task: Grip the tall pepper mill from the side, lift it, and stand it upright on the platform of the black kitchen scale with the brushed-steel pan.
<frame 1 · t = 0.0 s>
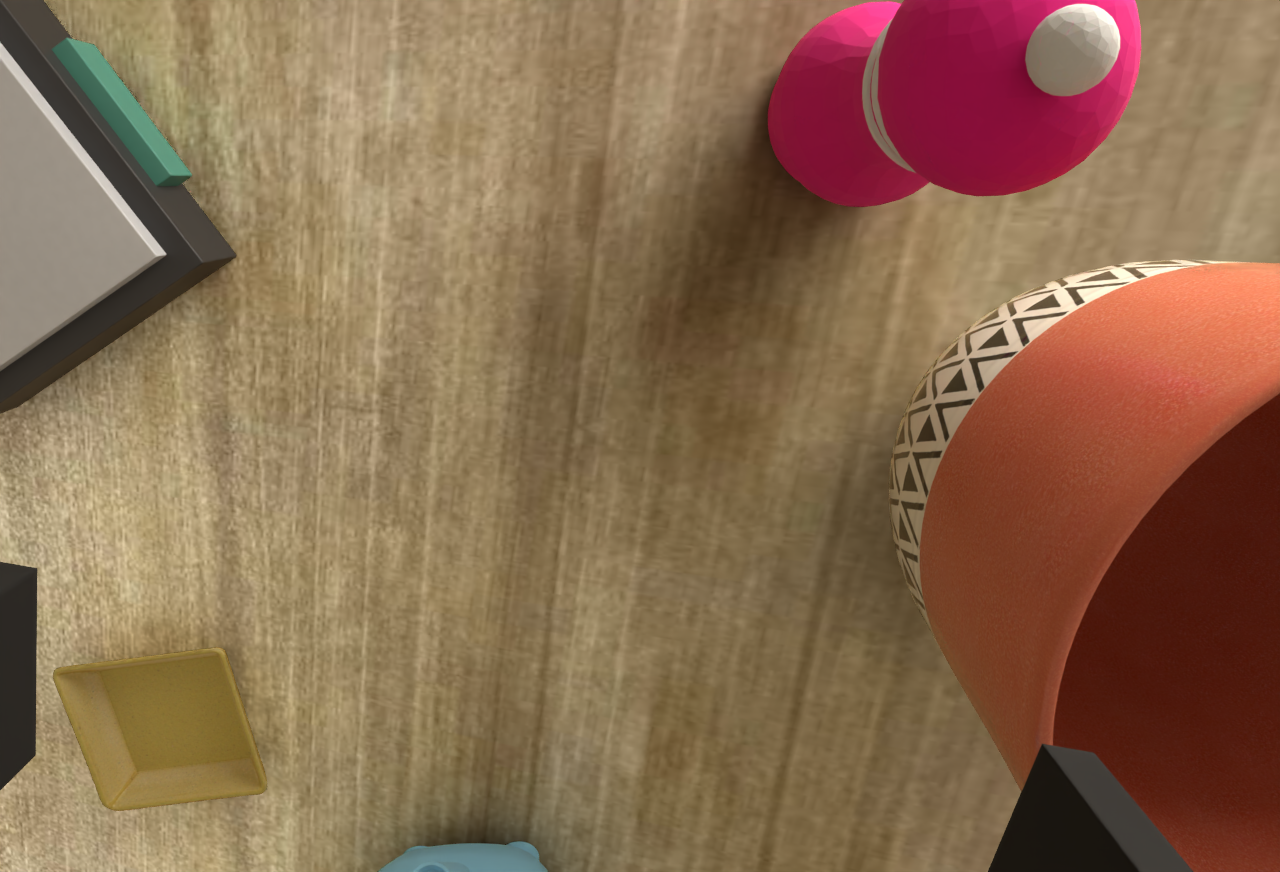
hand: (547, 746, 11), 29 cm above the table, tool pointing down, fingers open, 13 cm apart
pepper mill: (837, 117, 36), on the table
planter: (1022, 432, 40), on the table
saucer: (184, 706, 44), on the table
scale: (21, 207, 36), on the table
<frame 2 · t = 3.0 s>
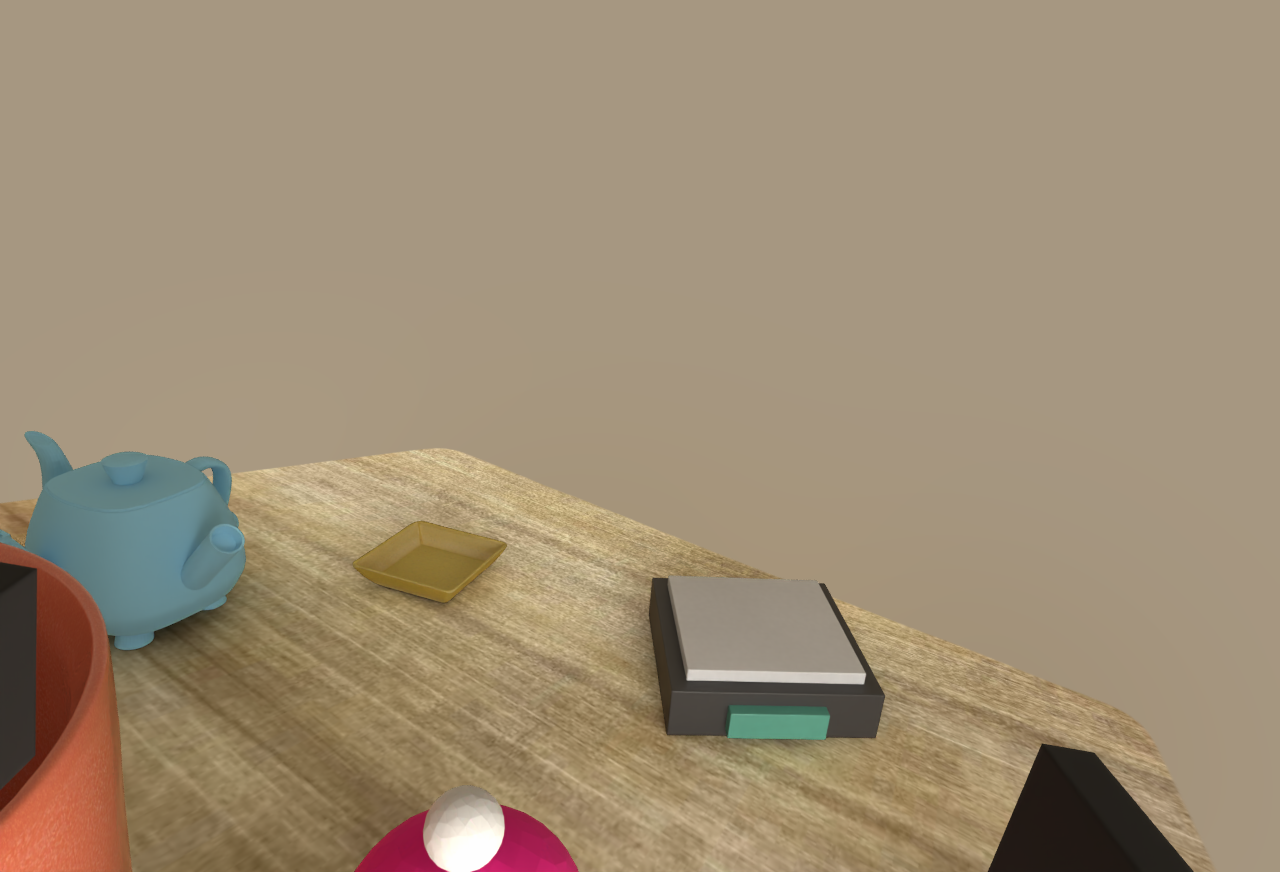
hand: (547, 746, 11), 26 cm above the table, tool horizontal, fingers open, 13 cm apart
saucer: (432, 578, 64), on the table
scale: (751, 670, 56), on the table
teapot: (137, 614, 57), on the table
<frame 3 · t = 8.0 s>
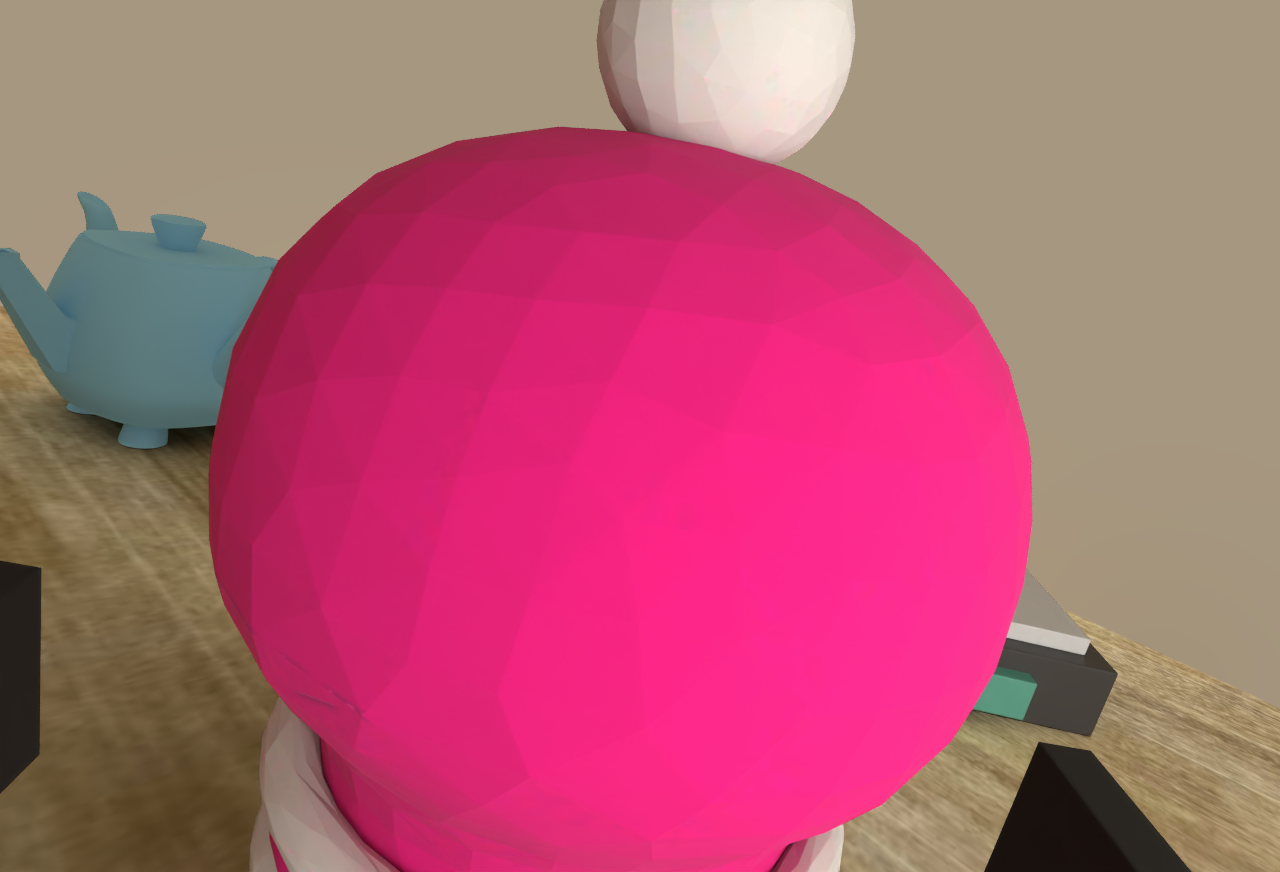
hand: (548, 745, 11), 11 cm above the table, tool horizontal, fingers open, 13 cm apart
scale: (906, 628, 42), on the table
teapot: (156, 422, 47), on the table
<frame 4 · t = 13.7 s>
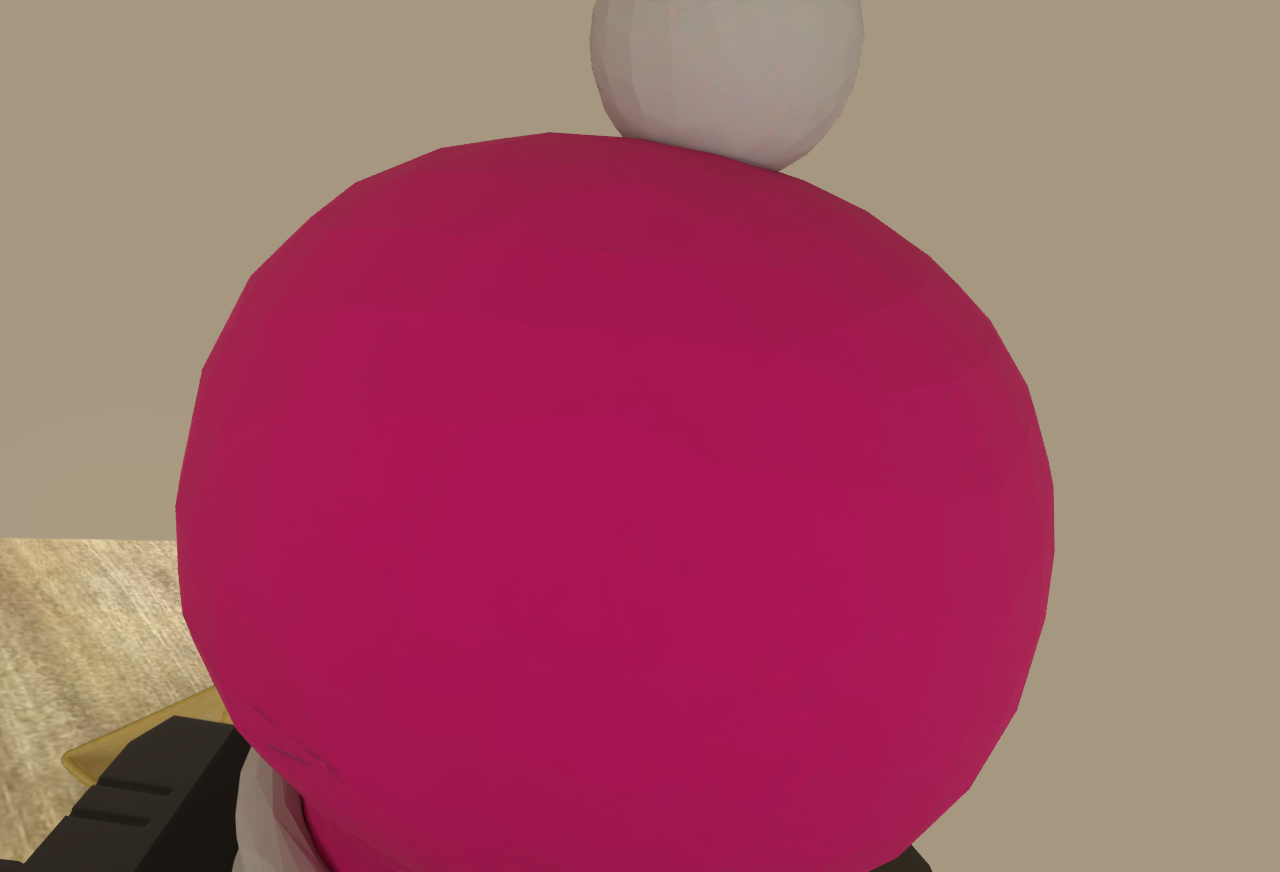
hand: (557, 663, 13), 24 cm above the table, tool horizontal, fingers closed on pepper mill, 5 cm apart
saucer: (206, 794, 39), on the table
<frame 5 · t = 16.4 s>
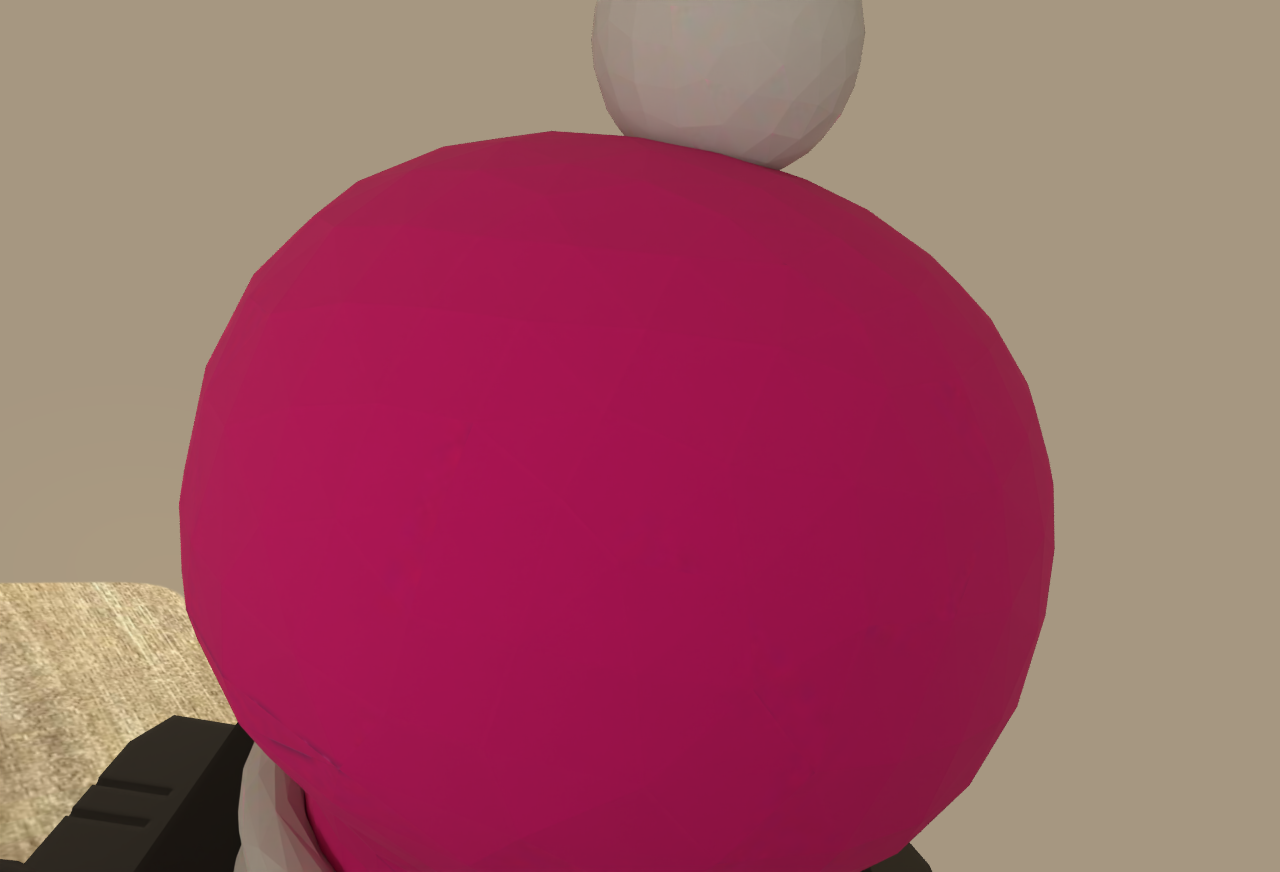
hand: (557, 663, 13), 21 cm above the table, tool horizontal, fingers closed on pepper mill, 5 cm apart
when the fingers open (15 cm above the table, at t = 18.4 s): pepper mill stays where it is, resting on scale.
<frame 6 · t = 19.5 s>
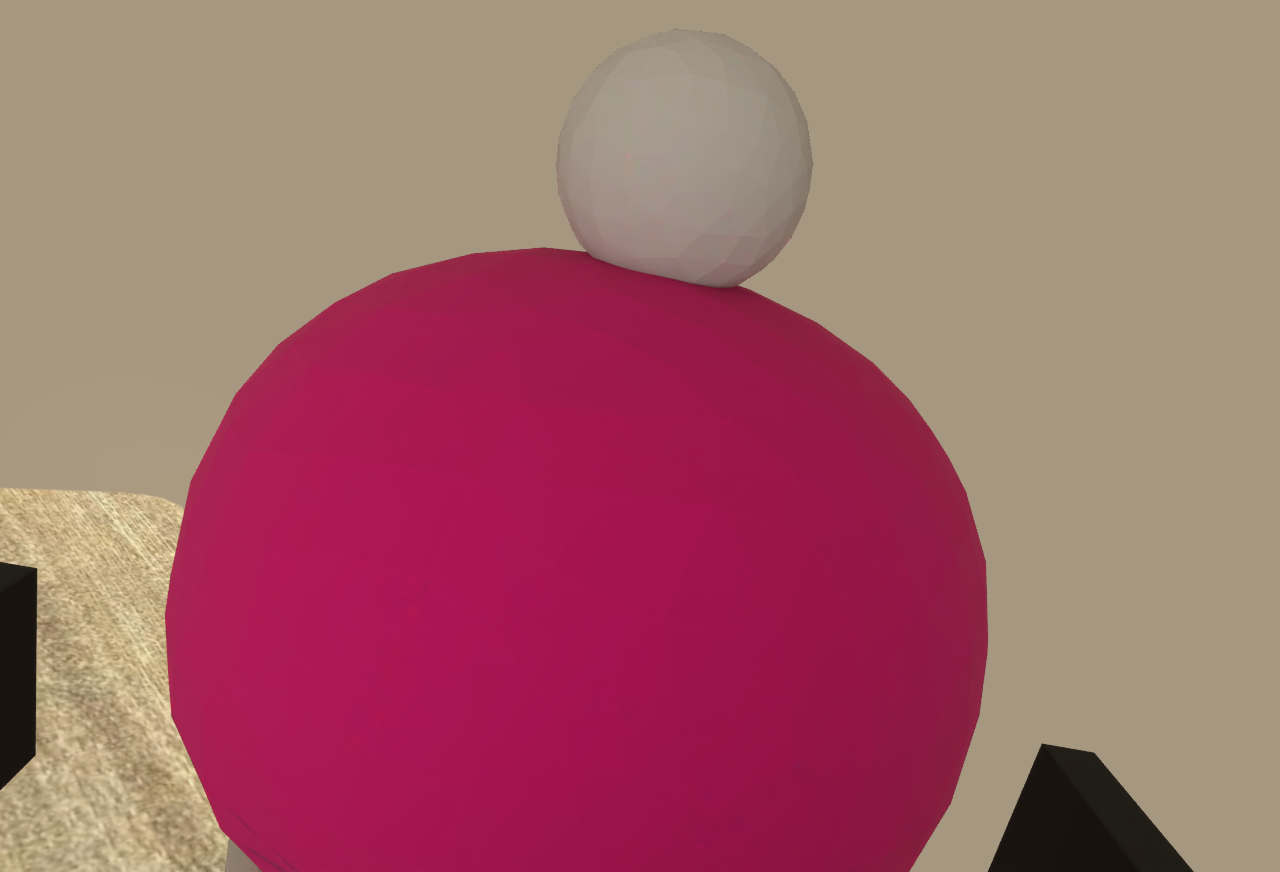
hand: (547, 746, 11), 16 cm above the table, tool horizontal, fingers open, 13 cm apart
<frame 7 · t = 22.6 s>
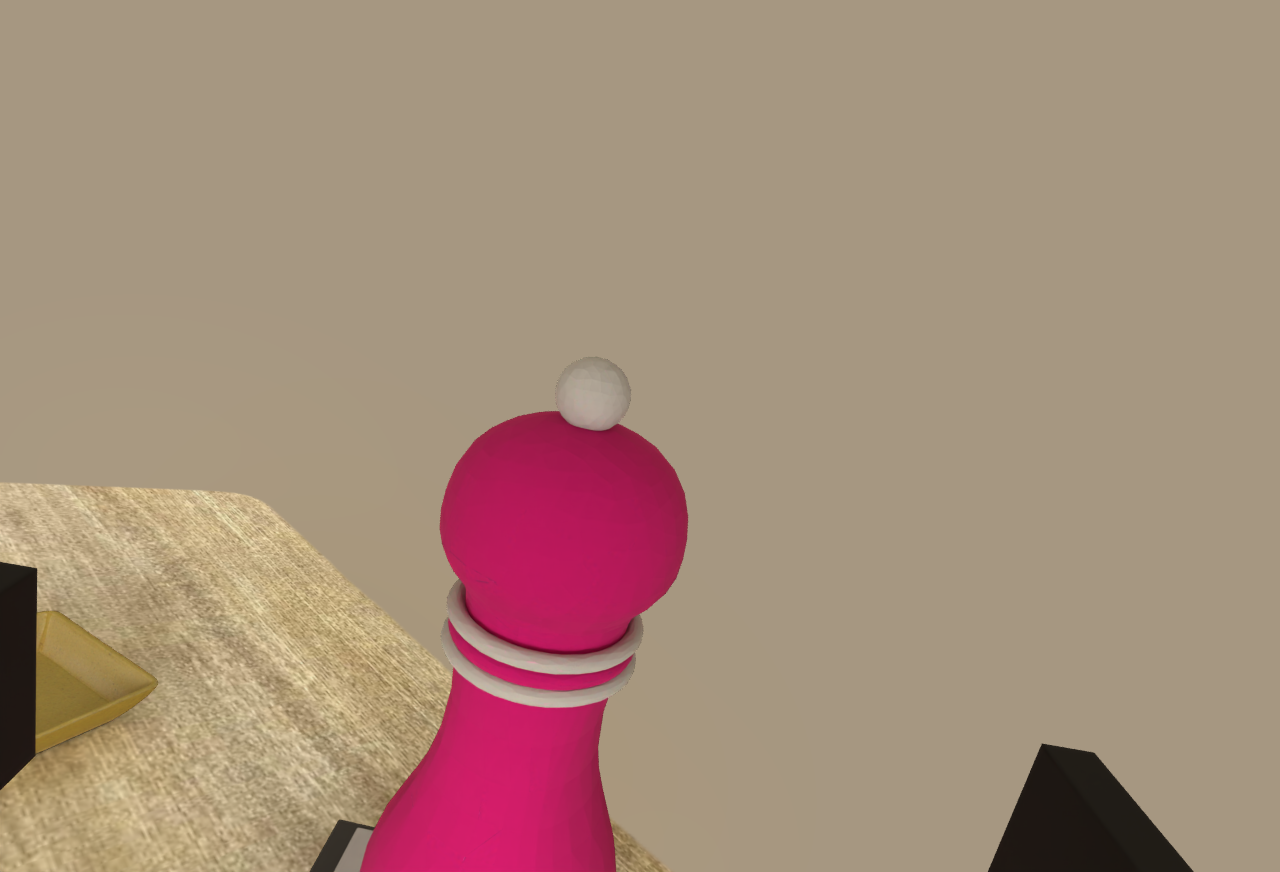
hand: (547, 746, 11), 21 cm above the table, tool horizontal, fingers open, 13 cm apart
saucer: (4, 723, 36), on the table
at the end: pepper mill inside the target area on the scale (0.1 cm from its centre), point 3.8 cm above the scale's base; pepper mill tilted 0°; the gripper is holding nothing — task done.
